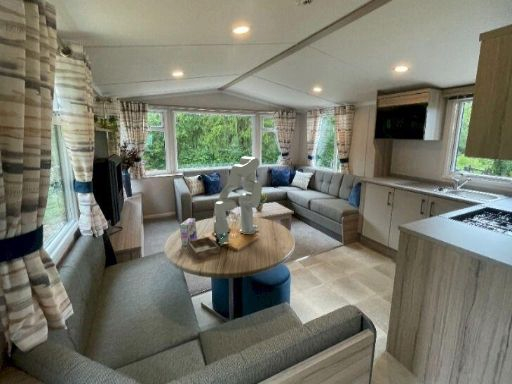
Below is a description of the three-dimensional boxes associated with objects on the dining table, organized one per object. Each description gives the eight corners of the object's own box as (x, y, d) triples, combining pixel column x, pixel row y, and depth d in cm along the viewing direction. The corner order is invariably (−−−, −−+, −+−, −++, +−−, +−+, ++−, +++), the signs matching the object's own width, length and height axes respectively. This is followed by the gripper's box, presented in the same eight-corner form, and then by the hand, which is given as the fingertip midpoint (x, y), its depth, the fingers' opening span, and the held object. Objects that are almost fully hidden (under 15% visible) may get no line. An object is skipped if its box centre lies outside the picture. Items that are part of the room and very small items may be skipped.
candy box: (189, 246, 180) (187, 224, 177) (181, 246, 182) (179, 224, 178) (197, 238, 194) (195, 218, 190) (190, 238, 195) (188, 217, 191)
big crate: (209, 242, 186) (208, 236, 185) (220, 253, 169) (219, 246, 168) (187, 248, 178) (187, 241, 177) (196, 259, 161) (196, 252, 160)
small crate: (223, 239, 191) (222, 232, 190) (228, 243, 183) (228, 237, 182) (215, 240, 188) (215, 234, 187) (221, 245, 180) (220, 239, 179)
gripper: (229, 215, 189) (230, 237, 193) (207, 219, 180) (209, 242, 184) (233, 217, 182) (235, 240, 187) (211, 222, 174) (212, 246, 178)
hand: (222, 241), depth 186 cm, fingers closed on small crate, 6 cm apart
